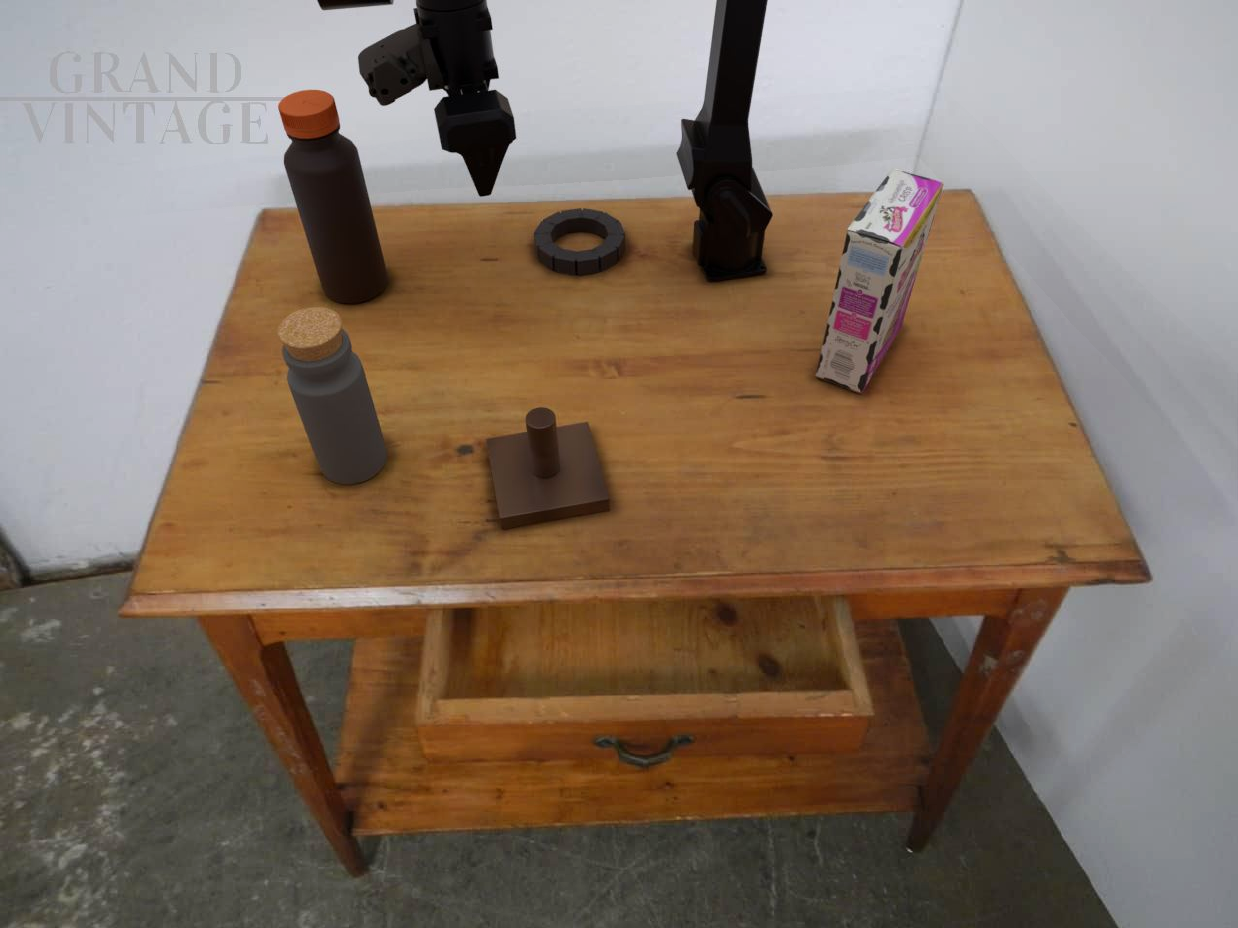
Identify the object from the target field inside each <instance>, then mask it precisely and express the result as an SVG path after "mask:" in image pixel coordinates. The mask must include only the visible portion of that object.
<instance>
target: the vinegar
mask: <svg viewBox="0 0 1238 928" xmlns="http://www.w3.org/2000/svg"><path fill="white" fill-rule="evenodd" d="M277 109H278V112H279V116H280V119H281V122H282V127H283V130H284V131H285V133H286V136H287V138H288V139H289V140H290V141H291V143H290V144H289V146H288V147H287V149H286V150H285V152H284V154H283V166H284V170H285V172H286V176H287V179H288V182H289V184H290V189H291V192H292V195H293V198H294V202H295V205H296V208H297V211H298V214H299V218H300V221H301V225H302V227H303V230H304V234H305V237H306V241H307V244H308V247H309V250H310V253H311V256H312V259H313V263H314V266H315V269H316V273H317V276H318V279H319V283H320V285H321V289H322V291H323V292H324V294H325V295H326V297H328V298H329V299H330V300H332V301H335V302H338V303H342V304H358V303H359V304H360V303H363V302H366V301H369V300H372V299H373V298H375V297H377V296H378V295H380V294H381V293H382V292H383V291H384V290H385V288H386V287H387V284H388V282H389V276H388V270H387V266H386V261H385V258H384V254H383V250H382V245H381V241H380V237H379V233H378V229H377V225H376V220H375V216H374V213H373V207H372V204H371V201H370V200H371V199H370V196H369V191H368V187H367V184H366V180H365V175H364V170H363V166H362V162H361V159H360V154H359V150H358V148H357V146H356V145H355V143H354V142H353V141H352V140H351V139H350V138H348V137H346V136H345V135H343V134H341V133H340V130H341V123H340V116H339V113H338V109H337V105H336V99H335V97H334V95H332V94H331V93H330V92H328V91H325V90H320V89H303V90H298V91H295V92H293V93H290V94H288V95H286V96H284V97H283V98H282V99H281V100H280V101H279V103H278V105H277Z"/></svg>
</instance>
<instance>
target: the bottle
mask: <svg viewBox="0 0 1238 928" xmlns="http://www.w3.org/2000/svg"><path fill="white" fill-rule="evenodd" d="M342 322H343V321H342V318H341V316H340V315H339V314H338V313H337V312H336V311H334V310H333V309H330V308H327V307H322V306H313V307H312V306H311V307H306V308H301V309H299V310H296V311H294V312H292V313H290V314H289V315H287V316H286V317H284V318H283V320H282V321H281V322H280V324H279V325H278V328H277V337H278V339H279V341H280V342H281V343H282V348H281V354H282V357H283V358H282V359H283V360H284V363H285V365H286V366H287V368H288V369H287V373H286V381H287V384H288V388H289V390H290V394H291V396H292V399H293V401H294V404H295V406H296V409H297V412H298V415H299V418H300V420H301V422H302V425H303V428H304V431H305V433H306V436H307V439H308V441H309V444H310V447H311V449H312V451H313V455H314V457H315V459H316V462H317V464H318V467H319V469H320V472H321V473H322V475H323V476H324V477H325V478H326V479H327V480H329V481H331V482H332V483H336V484H340V485H356V484H359V483H363V482H366V481H368V480H370V479H372V478H374V477H375V476H376V475H378V473H379V472H381V470H383V468H384V466H385V465H386V463H387V460H388V450H387V447H386V446H387V445H386V442H385V438H384V435H383V431H382V428H381V424H380V421H379V417H378V414H377V410H376V407H375V403H374V400H373V396H372V394H371V390H370V386H369V383H368V380H367V377H366V376H367V375H366V373H365V369H364V366H363V364H362V361H361V359H360V357H359V356H358V354H356V352H354V351H353V350H352V349H353V347H352V342H351V339H350V336H349V334H348V333H347V331H346V330H344V329H343V323H342Z"/></svg>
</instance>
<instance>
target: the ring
mask: <svg viewBox="0 0 1238 928" xmlns="http://www.w3.org/2000/svg"><path fill="white" fill-rule="evenodd" d="M576 232H577V233H578V232H586V233H592V234H596V235H598V236H599V237H601V238H602V239H604V242H602V243H600V244H599V245H597V246H595V247H593V248H591V249H584V250H583V249H582V250H572V249H565V248H562V247H561V246H559V245H558V244H556V243H555V242H556V240H557V239H559V238H561V237H563V236H564V235H567V234H570V233H576ZM533 243H534V244H533V245H534V251H535V254H536V258H537V260H538V262H539V263H541V264H542V265H544V266H545V267H546V268H548V269H549V270H551V271H554V272H556V273H561V274H567V275H572V276H576V275H577V276H582V275H583V276H585V275H589V274H591V275H592V274H597V273H600V272H604V271H605V270H607V269H609V268H611V267H613V266H614V265H617V264H618V262H619V261H620V260H621V258H622V256H623V254H624V252H625V250H626V233H625V230H624V228H623V225H622V223H621V221H620V220H619V219H617V218H615V217H614V216H612V215H610V214H609V213H608V212H606V211H605V212H604V211H603V210H597V209H592V208H587V207H586V208H585V207H583V208H582V207H579V208H572V209H571V208H570V209H565V210H560V211H557V212H554V213H552V214H550V215H548V216H547V217H545V218H543V219H542V220H541V221H540V222H539V224H538V225H537V227H536V228H535V230H534V231H533Z"/></svg>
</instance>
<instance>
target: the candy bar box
mask: <svg viewBox="0 0 1238 928" xmlns="http://www.w3.org/2000/svg"><path fill="white" fill-rule="evenodd" d="M944 185H945V183H944V182H942V181H940V180H937V179H932V178H929V177H926V176H922V175H919V174H914V173H910V172H908V171H904V170H900V169H896V168H892V169H891V170H890V171H889V172H888V173H887V175H886V177H885V178H884V179H883V180H882V182H881V183H880V184H879V186H878V187H877V189H876V190H875V191H874V193H873V194H872V195H871V196H870V198H869V199H868V200H867V202H866V203H865V205H864V206H863V207H862V209H861V210H860V211H859V213H858V214H857V215H856V216H855V218H854V219H853V221H852V222H851V223H850V225H849V226H848V228H847V230H846V236H845V239H844V240H845V241H844V245H843V250H842V252H841V257H840V262H839V268H838V271H837V277H836V281H835V284H834V285H835V286H834V289H833V290H834V291H833V294H832V298H831V299H832V300H831V305H830V308H829V312H828V313H829V314H828V317H827V320H826V321H827V323H826V327H825V332H824V336H823V340H822V346H821V350H820V355H819V360H818V364H817V369H816V372H815V377H816V378H817V379H820V380H823V381H825V382H828V383H831V384H834V385H836V386H839V387H841V388H843V389H846V390H849V391H852V392H854V393H857V394H863V393H864V391H865V389H866V388H867V387H868V385H869V382H870V381H871V379H872V378H873V376H874V374H875V372H876V370H878V369H877V368H878V367H879V366H880V364H881V362H882V361H883V359H884V357H885V356H886V354H887V352H888V350H889V348H890V347H891V346H892V344H893V342H894V340H895V339H896V337H897V335H898V333H899V332H900V330H901V328H902V326H903V323H904V319H905V317H906V312H907V309H908V306H909V302H910V299H911V296H912V292H913V288H914V285H915V282H916V278H917V275H918V272H919V268H920V264H921V261H922V258H923V254H924V252H925V248H926V245H927V241H928V240H929V239H928V238H929V235H930V232H931V228H932V226H933V222H934V218H935V215H936V211H937V208H938V204H939V201H940V198H941V194H942V191H943V188H944Z"/></svg>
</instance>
